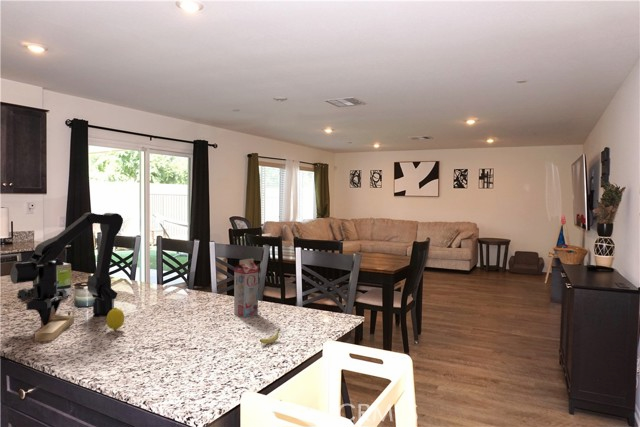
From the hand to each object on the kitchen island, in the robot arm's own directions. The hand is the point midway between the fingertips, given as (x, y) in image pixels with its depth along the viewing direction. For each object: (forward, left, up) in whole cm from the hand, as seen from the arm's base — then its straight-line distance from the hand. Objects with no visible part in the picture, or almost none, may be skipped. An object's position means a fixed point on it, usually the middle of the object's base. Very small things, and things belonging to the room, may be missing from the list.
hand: (47, 323), depth 150 cm
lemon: (-24, +8, -2) cm, 25 cm away
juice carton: (-69, -5, -2) cm, 69 cm away
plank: (-4, +5, -1) cm, 7 cm away
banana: (-75, +29, -2) cm, 80 cm away
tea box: (+16, -50, -2) cm, 52 cm away
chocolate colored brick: (-3, 0, -1) cm, 3 cm away
